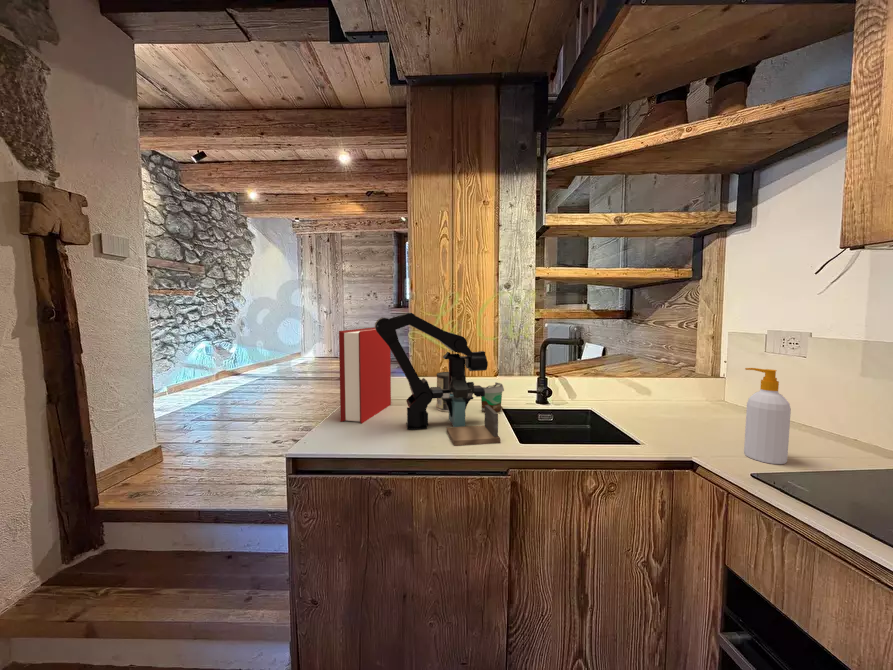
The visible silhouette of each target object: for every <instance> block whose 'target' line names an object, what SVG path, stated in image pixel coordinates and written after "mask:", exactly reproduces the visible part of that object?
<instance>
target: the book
mask: <svg viewBox="0 0 893 670" xmlns="http://www.w3.org/2000/svg"><path fill="white" fill-rule="evenodd" d="M338 341H339V342H338V347H339V349H338V352H339V353H338V354H339V405H340V408H339V409H340V411H339V412H340V423H341V422H345V421H347V422H348V421H349V422H359V423H360V424H364V423H365V422H367V421H368V420H370V419H371V418H373V417H374V416H376V415H377V414H379V413H380V412H382V411H384V410H385V409H387V408H388V407H390V406H391V405H392V390H391V389H392V384H391V383H392V382H391V381H392V378H391V377H392V376H391V375H392V374H391V373H392V372H391V369H392V368H391V367H392V366H391V362H392V360H391V349H390V348H389V346H388V345H387V343H386V342H385V341H384V340H383V339H382V337H381V336H380V335H379V334H378V333H377V331H376V329H375V327H366V328H365V327H364V328H354V329H346V330H338Z"/></svg>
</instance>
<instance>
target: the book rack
mask: <svg viewBox="0 0 893 670" xmlns="http://www.w3.org/2000/svg"><path fill="white" fill-rule="evenodd" d="M446 434H447V435H448V438H449V440H450V441H451V443H452V445H453V447H458V446H460V447H461V446H471V445H472V446H474V445H475V446H476V445H487V444H488V445H490V444H500V443H501V436H499V412H496V411H495V410H493V409H492V408H491V407H490V406H489V405H485V413H484V424H483V425H482V424H481V425H470V426H469V425H467V426H466V425H465V426H464V427H453V426H451V427H448V426H447V427H446Z"/></svg>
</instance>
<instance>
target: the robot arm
mask: <svg viewBox="0 0 893 670" xmlns="http://www.w3.org/2000/svg"><path fill="white" fill-rule="evenodd" d="M407 326H410V327H413V329H417V330H418V331H421V332H422V333H424V334H425V335H428V336H430V337H432V338H434V339H436V340H438V341H439V342H440V343H441V344H442V345H444V347H446V348H447V349H449V350H450V351H452V352H454V353H450V351H446V353H444V355H442V358H443V359H444V360H448V372H449V373H448V376H449V385H448V388H449V389H441V387H437V386H430V384H429V382H428V381H427V380H426V378H425V377H423V378H422V379H421V378H420V376H419V375H418V373H417V372H416V370H415V368H414V366H413V364H412V363H411V361H410V359H409V357H408V355H407V354H406V352H405V350H404V348H403V346H402V344H401V342H400V339H399V337H398V332H397V330H399V329H402V328H404V327H407ZM374 328H375V329H376V331H377V333H378V334H379V335H380V336H381V337H382V339H383V340H384V341H385V342H386V343H387V345H388V346H389V348H390V352H391V353H392V355H393V356H394V358H395V360H396V362H397V364H398V365H399V368H400V369H401V371H402V373H403V375H404V376H405V378H406V380H407V382H408V385H409V390H410V392H411V395H409V397H408V398H406V399H405V400H406V401H405V402H406V404H407V406H408V407H406V428H407V430H426V429H428V426H429V412H428V411H427V407H428V405H429V404H430V403H431V402H432V401H433V399H434V400H435V399H437V398H441V399H442V400H445V402H446V405H447V408H448V411H449V412H448V415H449V414H450V416H451V417H452V407H451V398H450V395H453V396H454V397H455V398H459V397H462V399H463V400H464V401H465V410H467V406H468V405H469V403H470V401H471V400H474V398H475V397H476V398H478V397H480V398H481V397H484V396H485V389H484V388H482V387H483V386H481V385H477V384H476V385H475V383H474V381H468V382H467V379H466V377H467V376H466V369H468V371H469V372H482V371H487V370H488V366H489V362H488V358H487V355H486V351H485V350H480V351H472V350H471V349H470V347H469V346H468V342H467V338H465V337H464V336H462V335H460V334H456V333H452V332H449V331H445V330H444V329H442V328H440V327H438V326H436V325H434V324H432V323H431V322H429V321H426V320H424V319H423V318H421V317H419V316H417V315H415V314H414V313H412V312H406V313H404V314H400V315H398V316H394V317H391V318H387V317H380V318H378V319H377V320H376V322H375V324H374ZM460 354H462V355H460ZM473 396H475V397H473Z"/></svg>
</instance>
